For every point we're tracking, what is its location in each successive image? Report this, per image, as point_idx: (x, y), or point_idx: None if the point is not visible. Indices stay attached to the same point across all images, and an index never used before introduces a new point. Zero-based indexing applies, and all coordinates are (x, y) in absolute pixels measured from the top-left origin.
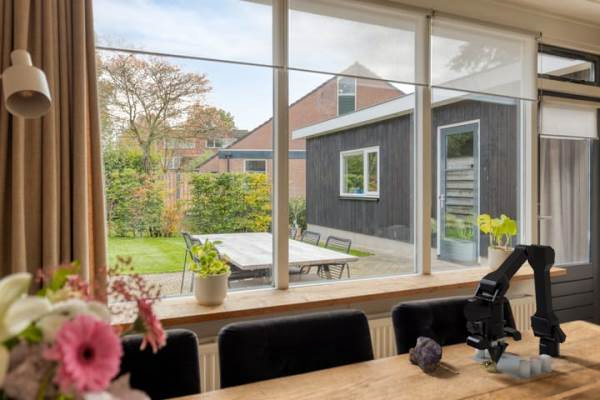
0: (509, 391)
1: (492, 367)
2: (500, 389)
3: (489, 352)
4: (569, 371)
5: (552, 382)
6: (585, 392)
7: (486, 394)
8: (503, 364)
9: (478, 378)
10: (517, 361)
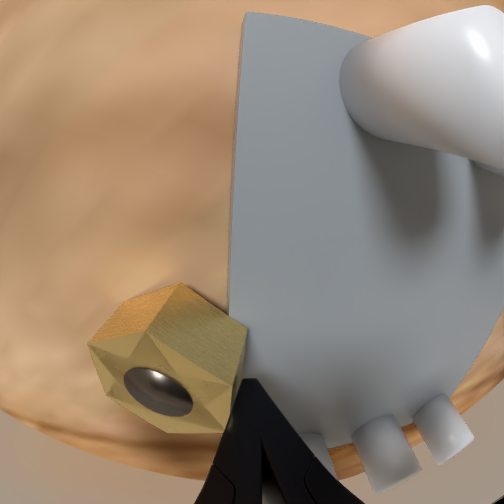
0: (121, 455)
1: (155, 421)
2: (95, 440)
3: (203, 491)
4: (469, 390)
5: (349, 449)
6: (343, 476)
7: (26, 424)
8: (377, 327)
9: (45, 353)
10: (470, 314)
